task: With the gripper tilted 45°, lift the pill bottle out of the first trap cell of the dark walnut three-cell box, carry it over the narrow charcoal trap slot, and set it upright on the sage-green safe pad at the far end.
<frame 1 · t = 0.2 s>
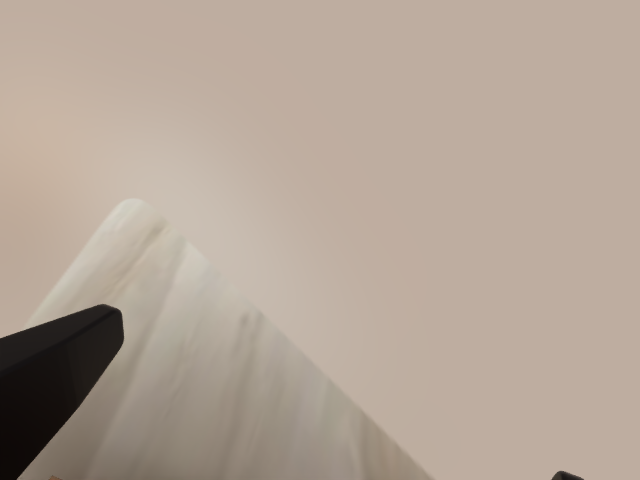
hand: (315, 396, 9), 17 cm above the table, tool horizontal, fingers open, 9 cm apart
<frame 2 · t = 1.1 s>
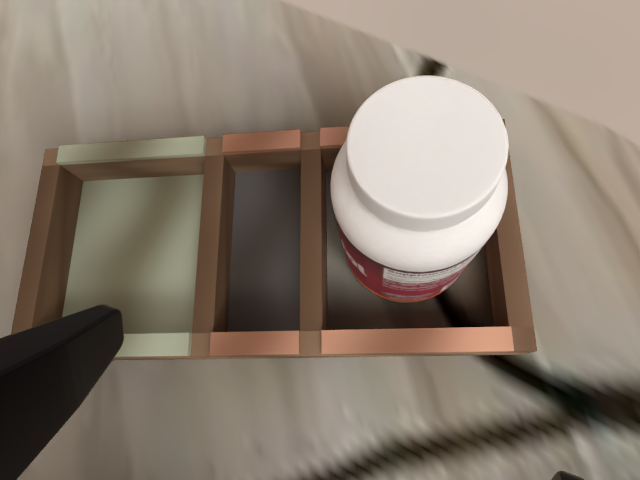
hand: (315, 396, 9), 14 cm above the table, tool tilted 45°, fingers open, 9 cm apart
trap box: (270, 251, 25), on the table
pill bottle: (403, 247, 24), resting in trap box
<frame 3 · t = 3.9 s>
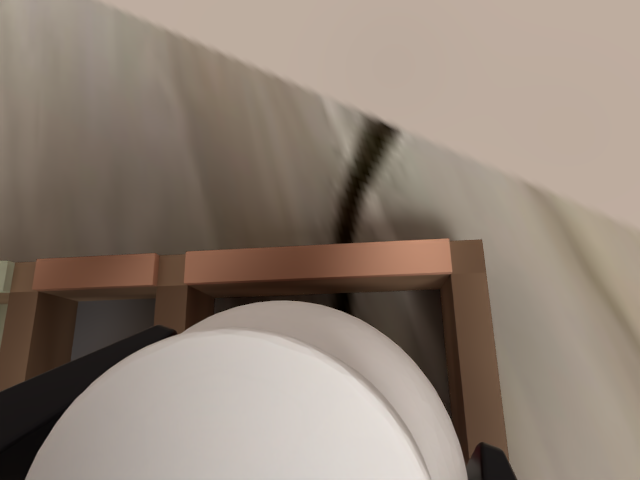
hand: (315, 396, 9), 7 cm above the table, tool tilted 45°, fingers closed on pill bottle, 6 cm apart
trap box: (123, 432, 16), on the table
pill bottle: (327, 430, 15), resting in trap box, touching gripper
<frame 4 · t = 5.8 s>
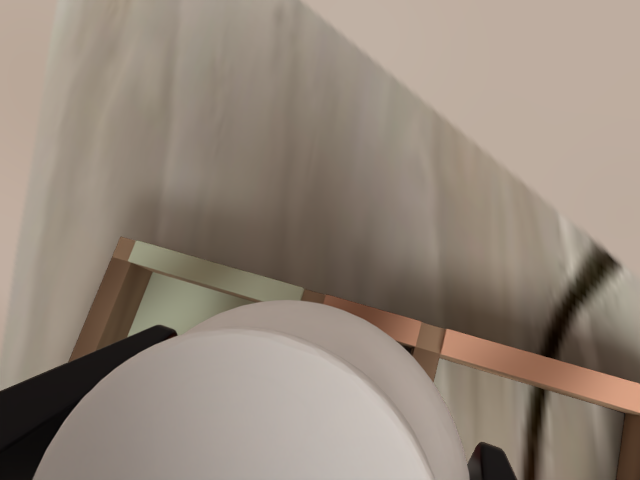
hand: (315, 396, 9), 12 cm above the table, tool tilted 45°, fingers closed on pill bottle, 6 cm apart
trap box: (340, 437, 20), on the table
pill bottle: (329, 428, 15), point 5 cm above the table, touching gripper
when the fingers open (8 cm above the table, at t = 7.9 s): pill bottle stays where it is, resting on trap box.
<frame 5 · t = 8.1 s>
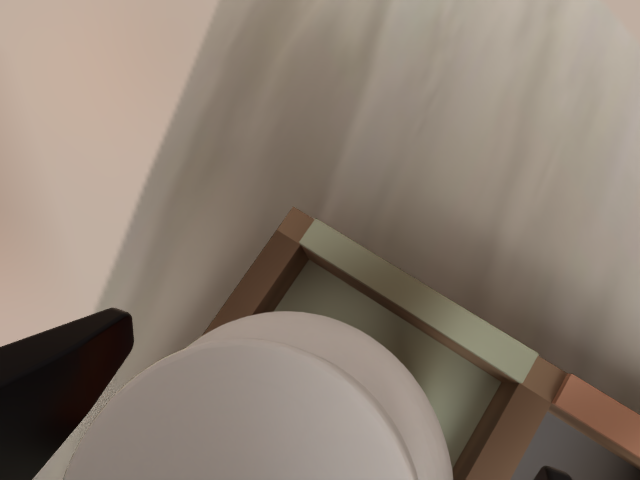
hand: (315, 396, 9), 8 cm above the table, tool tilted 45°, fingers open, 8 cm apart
pill bottle: (328, 430, 16), resting on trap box
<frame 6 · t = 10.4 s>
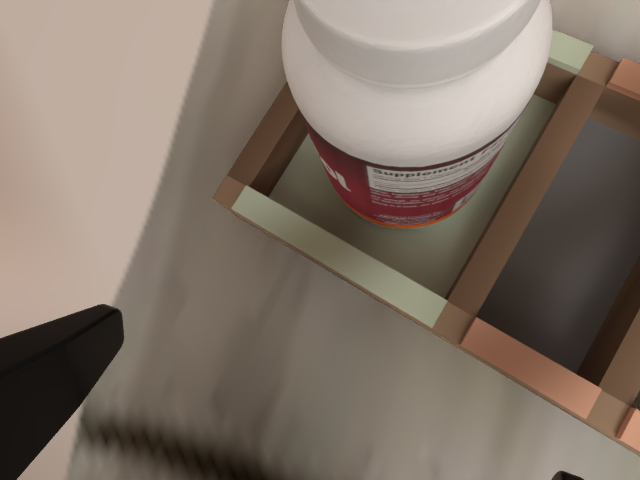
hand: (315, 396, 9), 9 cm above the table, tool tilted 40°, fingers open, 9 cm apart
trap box: (572, 243, 17), on the table
pill bottle: (404, 160, 19), resting on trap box
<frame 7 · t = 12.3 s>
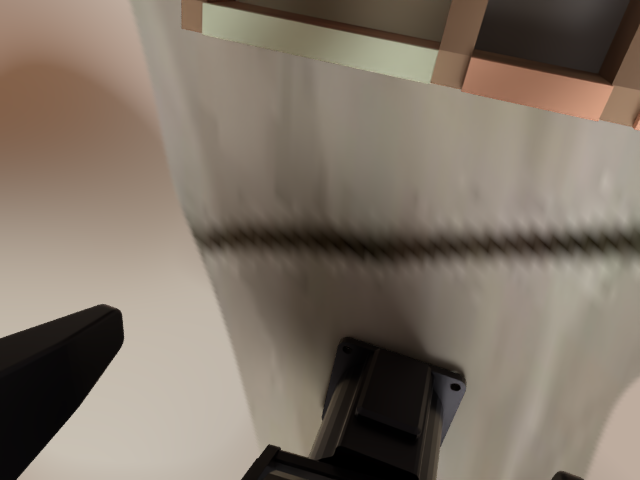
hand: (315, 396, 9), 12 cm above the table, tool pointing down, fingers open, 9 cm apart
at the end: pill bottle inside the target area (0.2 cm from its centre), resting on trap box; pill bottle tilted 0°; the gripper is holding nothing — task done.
